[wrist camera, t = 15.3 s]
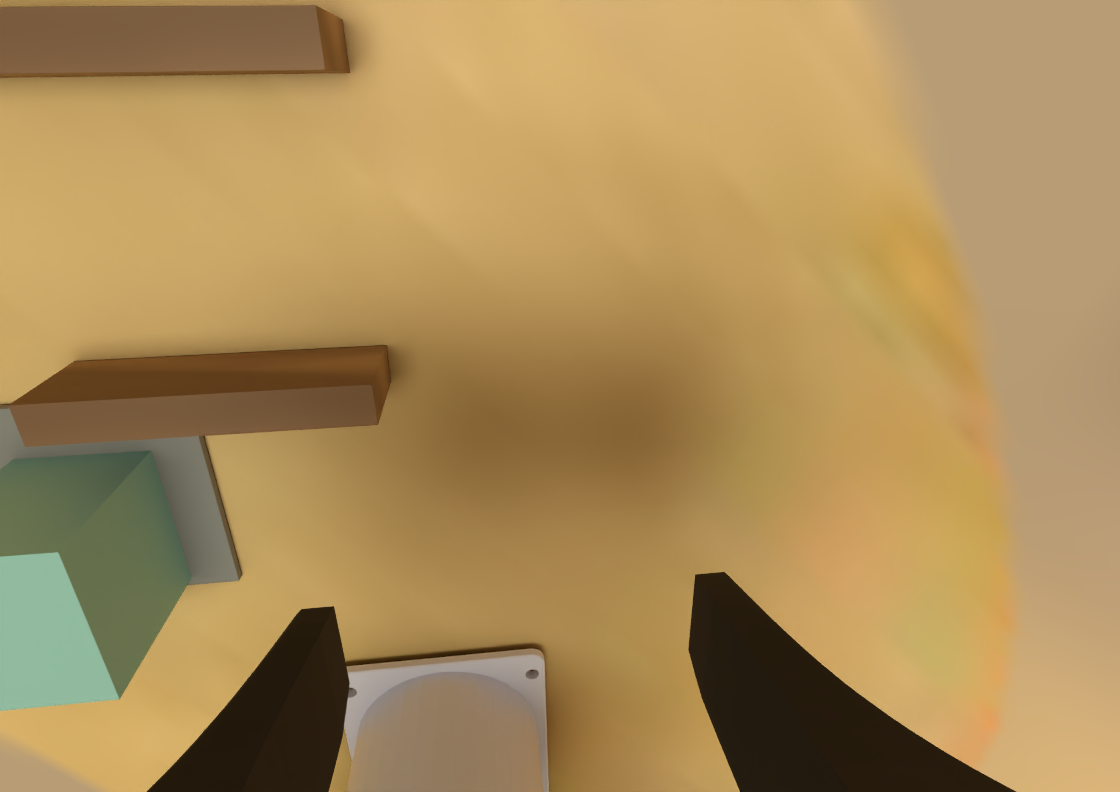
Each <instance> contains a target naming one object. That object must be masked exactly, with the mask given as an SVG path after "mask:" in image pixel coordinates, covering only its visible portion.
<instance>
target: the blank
mask: <svg viewBox="0 0 1120 792" xmlns="http://www.w3.org/2000/svg"><path fill="white" fill-rule="evenodd" d="M190 579H191V575H190V571H189V568H188V565H187V562H186V559H185V556H184V552H183V549H182V546H181V543H180V540H179V537H178V534H177V530H176V527H175V524H174V521H173V518H172V515H171V512H170V508H169V505H168V502H167V499H166V496H165V493H164V489H163V486H162V483H161V480H160V477H159V474H158V471H157V467H156V464H155V461H154V458H153V455H152V452H151V451H136V452H120V453H105V454H89V455H73V456H58V457H42V458H26V459H13V460H12V461H10V462H9V463H8V464H7V465H5V466H4V467H3V468H2V469H0V711H4V710H15V709H25V708H35V707H45V706H56V705H66V704H76V703H86V702H97V701H107V700H117V699H120V698H121V696H122V694H123V693H124V691H125V689H126V687H127V686H128V684H129V682H130V681H131V679H132V677H133V676H134V674H135V672H136V671H137V669H138V667H139V665H140V664H141V662H142V660H143V659H144V657H145V655H146V654H147V652H148V650H149V649H150V647H151V645H152V644H153V642H154V640H155V638H156V637H157V635H158V633H159V632H160V630H161V628H162V627H163V625H164V623H165V622H166V620H167V618H168V616H169V615H170V613H171V611H172V610H173V608H174V606H175V605H176V603H177V601H178V600H179V598H180V596H181V595H182V593H183V591H184V589H185V588H186V586H187V584H188V583H189V581H190Z"/></svg>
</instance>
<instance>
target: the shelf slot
mask: <svg viewBox="0 0 1120 792" xmlns="http://www.w3.org/2000/svg"><path fill="white" fill-rule="evenodd" d="M306 73H350V72H349V65H348V57H347V50H346V42H345V35H344V27H343V20H342V19H340V18H338V17H336V16H335V15H333V14H331V13H329V12H327V11H325V10H323V9H321V8H319V7H317V6H81V7H0V78H8V77H82V76H157V75H232V74H306ZM390 383H391V377H390V370H389V362H388V355H387V347H386V345H383V346H364V347H345V348H325V349H306V350H287V351H267V352H248V353H229V354H209V355H190V356H171V357H151V358H132V359H113V360H94V361H74V362H73V363H71V364H70V365H68V366H67V367H65V368H64V369H62V370H61V371H59V372H58V373H56V374H55V375H53V376H52V377H50V378H49V379H47V380H46V381H44V382H43V383H41V384H40V385H38V386H37V387H35V388H34V389H32V390H31V391H29V392H28V393H26V394H25V395H23V396H22V397H20V398H19V399H17V400H16V401H14V402H13V403H11V404H10V405H8V406H9V409H10V411H11V414H12V416H13V419H14V421H15V423H16V426H17V428H18V431H19V433H20V436H21V438H22V441H23V443H24V445H25V447H34V446H49V445H65V444H81V443H97V442H113V441H129V440H145V439H161V438H177V437H193V436H208V435H224V434H240V433H256V432H272V431H288V430H304V429H320V428H336V427H352V426H367V425H378V422H379V419H380V416H381V413H382V409H383V406H384V403H385V399H386V396H387V393H388V390H389V386H390Z"/></svg>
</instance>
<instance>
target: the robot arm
mask: <svg viewBox="0 0 1120 792" xmlns="http://www.w3.org/2000/svg"><path fill="white" fill-rule="evenodd" d="M689 653H690V657H691V661H692V664H693V668H694V672H695V676H696V679H697V682H698V686H699V689H700V693H701V696H702V699H703V702H704V704H705V707H706V709H707V712H708V714H709V717H710V719H711V722H712V724H713V727H714V729H715V732H716V734H717V737H718V739H719V742H720V744H721V746H722V749H723V751H724V754H725V756H726V759H727V761H728V763H729V766H730V768H731V771H732V773H733V776H734V778H735V780H736V783H737V785H738V788H739V790H740V792H1016V791H1014V790H1012V789H1010V788H1008V787H1006V786H1004V785H1003V784H1001V783H999V782H997V781H995V780H993V779H992V778H990V777H988V776H986V775H984V774H982V773H981V772H979V771H977V770H975V769H973V768H971V767H970V766H968V765H966V764H965V763H963V762H961V761H959V760H958V759H956V758H954V757H952V756H951V755H949V754H947V753H946V752H944V751H942V750H941V749H939V748H938V747H936V746H934V745H933V744H931V743H930V742H928V741H927V740H925V739H923V738H922V737H920V736H919V735H917V734H915V733H914V732H912V731H911V730H909V729H908V728H906V727H905V726H903V725H902V724H900V723H899V722H897V721H896V720H894V719H893V718H891V717H890V716H888V715H887V714H886V713H884V712H883V711H882V710H880V709H879V708H877V707H876V706H875V705H873V704H872V703H870V702H869V701H868V700H866V699H865V698H864V697H862V696H861V695H859V694H858V693H857V692H855V691H854V690H853V689H852V688H850V687H849V686H848V685H846V684H845V683H844V682H843V681H841V680H840V679H839V678H838V677H836V676H835V675H834V674H833V673H832V672H830V671H829V670H828V669H827V668H826V667H824V666H823V665H822V664H821V663H820V662H818V661H817V660H816V659H815V658H814V657H813V656H812V655H810V654H809V653H808V652H807V651H806V650H805V649H804V648H803V647H802V646H800V645H799V644H798V643H797V642H796V641H795V640H794V639H793V638H792V637H791V636H790V635H788V634H787V633H786V632H785V631H784V630H783V629H782V628H781V627H780V626H779V625H778V624H777V623H776V622H775V621H774V620H773V619H771V618H770V617H769V616H768V615H767V614H766V613H765V612H764V611H763V610H762V609H761V608H760V607H759V606H758V605H757V604H756V603H755V602H754V601H753V600H752V599H751V598H750V597H749V596H748V595H747V594H746V593H745V592H744V591H743V590H742V589H741V588H740V587H739V586H738V585H737V584H736V583H735V582H734V581H733V580H732V579H731V578H730V577H729V576H728V575H727V574H726V573H725V572H720V573H709V574H697V575H695V584H694V595H693V606H692V617H691V628H690V639H689ZM532 669H534V671H529V670H532ZM349 688H354V689H349ZM343 729H345V733H346V738H347V742H348V747H349V752H350V756H351V761H352V766H351V771H350V776H349V781H348V787H347V792H549V778H548V748H547V719H546V689H545V662H544V655H543V653H542V652H541V651H540V650H538V649H521V650H510V651H500V652H490V653H479V654H469V655H459V656H448V657H438V658H427V659H417V660H407V661H396V662H386V663H376V664H365V665H355V666H346V663H345V658H344V653H343V648H342V643H341V638H340V634H339V629H338V624H337V619H336V614H335V609H334V606H333V607H321V608H310V609H301V610H300V611H299V613H298V614H297V615H296V616H295V617H294V619H293V620H292V621H291V623H290V624H289V625H288V627H287V628H286V629H285V631H284V632H283V634H282V635H281V636H280V638H279V639H278V640H277V642H276V643H275V644H274V646H273V647H272V648H271V650H270V651H269V652H268V654H267V655H266V656H265V658H264V659H263V660H262V661H261V663H260V664H259V665H258V667H257V668H256V669H255V671H254V672H253V673H252V674H251V676H250V677H249V678H248V679H247V681H246V682H245V683H244V684H243V686H242V687H241V688H240V689H239V691H238V692H237V693H236V694H235V696H234V697H233V698H232V699H231V700H230V702H229V703H228V704H227V705H226V706H225V708H224V709H223V710H222V711H221V712H220V713H219V715H218V716H217V717H216V718H215V719H214V720H213V721H212V723H211V724H210V725H209V726H208V727H207V728H206V729H205V731H204V732H203V733H202V734H201V735H200V736H199V737H198V739H197V740H196V741H195V742H194V743H193V744H192V745H191V746H190V748H189V749H188V750H187V751H186V752H185V753H184V754H183V755H182V756H181V757H180V758H179V759H178V760H177V761H176V763H175V764H174V765H173V766H172V767H171V768H170V769H169V770H168V771H167V772H166V773H165V774H164V775H163V776H162V777H161V778H160V779H159V780H158V781H157V782H156V783H155V784H154V785H153V786H152V787H151V788H150V789H149V790H148V791H147V792H329V788H330V784H331V780H332V776H333V772H334V768H335V764H336V760H337V756H338V752H339V748H340V744H341V740H342V736H343Z"/></svg>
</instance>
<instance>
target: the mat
mask: <svg viewBox="0 0 1120 792" xmlns="http://www.w3.org/2000/svg"><path fill="white" fill-rule="evenodd" d="M8 405H10V404H8ZM8 405H0V469H2V468H3V467H4V466H5V465H7V464H8V463H9V462H10V461H12V460H13V459H26V458H42V457H58V456H73V455H89V454H105V453H120V452H136V451H151V452H152V455H153V458H154V461H155V464H156V467H157V471H158V474H159V477H160V480H161V483H162V486H163V489H164V493H165V496H166V499H167V502H168V505H169V508H170V512H171V515H172V518H173V521H174V524H175V527H176V530H177V534H178V537H179V540H180V543H181V546H182V549H183V552H184V556H185V559H186V562H187V565H188V568H189V571H190V575H191V579H190V581H189V583H188V584H187V585H195V584H207V583H219V582H231V581H239V580H240V578H241V576H242V574H241V570H240V567H239V563H238V560H237V556H236V552H235V549H234V545H233V542H232V538H231V534H230V531H229V527H228V523H227V520H226V516H225V513H224V509H223V505H222V502H221V498H220V495H219V491H218V487H217V484H216V480H215V476H214V473H213V469H212V466H211V462H210V458H209V455H208V451H207V448H206V444H205V440H204V437H203V436H193V437H177V438H161V439H145V440H129V441H113V442H97V443H81V444H65V445H49V446H34V447H25V445H24V443H23V441H22V438H21V436H20V433H19V431H18V428H17V426H16V423H15V421H14V419H13V416H12V414H11V411H10V409H9V406H8Z"/></svg>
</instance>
